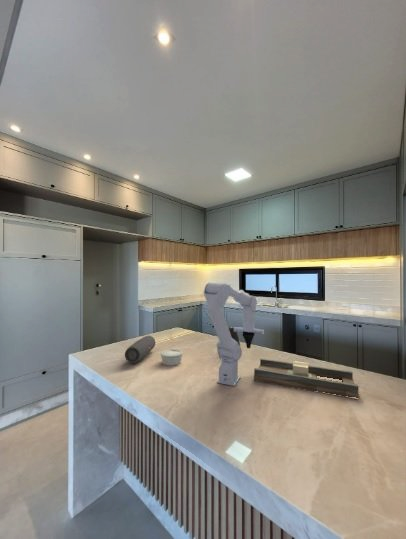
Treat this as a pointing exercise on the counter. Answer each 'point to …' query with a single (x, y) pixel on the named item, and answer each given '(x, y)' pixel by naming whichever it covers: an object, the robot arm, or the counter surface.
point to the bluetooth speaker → (140, 349)
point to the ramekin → (171, 357)
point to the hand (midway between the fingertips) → (248, 347)
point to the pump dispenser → (234, 335)
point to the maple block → (300, 368)
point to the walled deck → (307, 378)
